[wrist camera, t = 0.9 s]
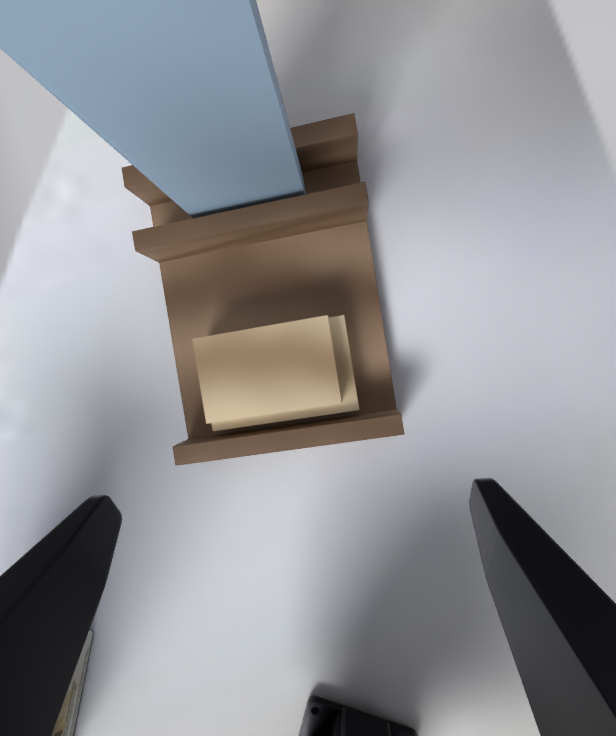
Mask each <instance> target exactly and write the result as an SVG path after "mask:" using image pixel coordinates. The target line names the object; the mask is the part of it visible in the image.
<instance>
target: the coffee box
mask: <svg viewBox="0 0 616 736" xmlns="http://www.w3.org/2000/svg"><path fill="white" fill-rule="evenodd" d="M92 637H93V632H92V631H90V630H89V633H88V635H87V638H86V641H85V644H84V647H83V649H82V652H81V655H80V658H79V661H78V663H77V666H76V669H75V672H74V675H73V677H72V680H71V683H70V686H69V689H68V692H67V694H66V697H65V700H64V703H63V706H62V708H61V711H60V714H59V717H58V720H57V722H56V725H55V728H54V731H53V734H52V736H73V733H74V728H75V723H76V717H77V712H78V707H79V702H80V697H81V692H82V687H83V682H84V677H85V672H86V667H87V662H88V657H89V652H90V647H91V642H92Z"/></svg>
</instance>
